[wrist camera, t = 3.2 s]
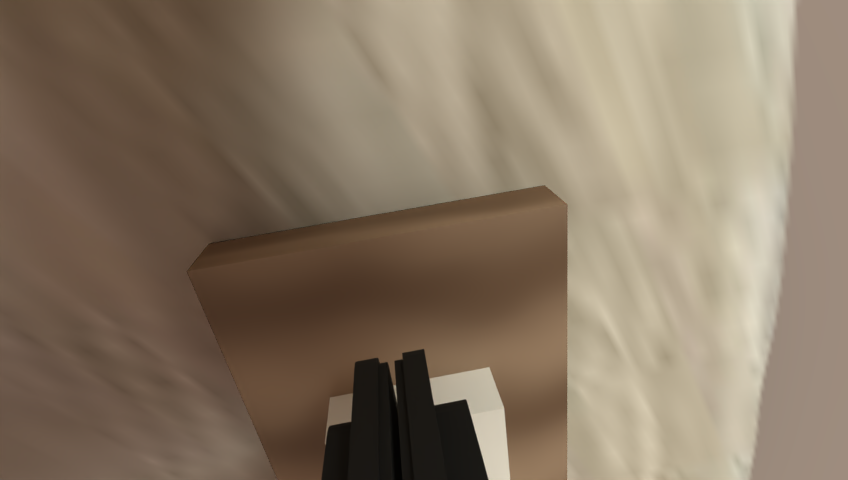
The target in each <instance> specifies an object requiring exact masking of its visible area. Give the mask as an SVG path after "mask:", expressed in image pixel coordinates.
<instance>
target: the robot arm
mask: <svg viewBox="0 0 848 480" xmlns="http://www.w3.org/2000/svg"><path fill="white" fill-rule="evenodd" d="M402 358H403V359H401V360H395V361H394V364H395V379H396V393H397V400H396V396H395V391H394V387H393V382H392V378H391V373H390V369H389V365H388V362H385V363H380V362H379V359H378V358H373V359H367V360H362V361H357V362H355V367H354V383H353V399H352V415H351V422H346V423H341V424H336V425H331V426H329V428H328V432H327V438H326V446H325V454H324V462H323V470H322V478H321V480H489V479H488V476H487V472H486V468H485V465H484V461H483V457H482V454H481V450H480V446H479V443H478V439H477V436H476V432H475V428H474V425H473V421H472V417H471V414H470V410H469V406H468V403H467V400H466V399H464V400H459V401H454V402H449V403H444V404H439V405H434V401H433V396H432V390H431V384H430V379H429V373H428V368H427V362H426V356H425V351H424V349H420V350H415V351H410V352H404V353H402Z"/></svg>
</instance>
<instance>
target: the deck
mask: <svg viewBox="0 0 848 480" xmlns="http://www.w3.org/2000/svg"><path fill="white" fill-rule="evenodd" d="M187 273H188V275H189V278H190V280H191V282H192V285H193V287H194V289H195V291H196V294H197V296H198V298H199V301H200V303H201V305H202V308H203V310H204V312H205V314H206V317H207V319H208V321H209V324H210V326H211V328H212V330H213V333H214V335H215V337H216V340H217V342H218V344H219V347H220V349H221V351H222V353H223V356H224V358H225V360H226V363H227V365H228V367H229V369H230V372H231V374H232V376H233V379H234V381H235V383H236V386H237V388H238V390H239V392H240V395H241V397H242V399H243V402H244V404H245V406H246V408H247V411H248V413H249V415H250V418H251V420H252V422H253V425H254V427H255V429H256V431H257V434H258V436H259V438H260V441H261V443H262V445H263V447H264V450H265V452H266V454H267V457H268V459H269V461H270V464H271V466H272V468H273V470H274V473H275V475H276V477H277V480H321V478H322V470H323V462H324V454H325V446H326V445H325V436H326V428H327V419H328V410H329V402H330V397H335V396H340V395H346V394H351V393H353V383H354V367H355V362H357V361H362V360H367V359H373V358H378V359H379V362H380V363H385V362H388V365H389V369H390V373H391V378H392V382H393V385H396V379H395V364H394V361H395V360H401V359H403V358H402V353H404V352H410V351H415V350H420V349H424V351H425V356H426V362H427V368H428V373H429V379H430V378H435V377H440V376H445V375H451V374H456V373H461V372H466V371H472V370H477V369H482V368H487V367H489V368H490V370H491V373H492V376H493V379H494V381H495V384H496V387H497V390H498V392H499V395H500V398H501V401H502V403H503V406H504V412H505V424H506V436H507V447H508V459H509V471H510V480H567V204H566V203H565V202H564V201H563V200H561V199H560V198H559V197H558V196H557V195H555V194H554V193H553V192H552V191H551V190H549V189H548V188H547V187H546V186H545V185H544V186H539V187H533V188H527V189H521V190H516V191H510V192H504V193H498V194H493V195H487V196H481V197H475V198H470V199H464V200H458V201H452V202H447V203H441V204H435V205H429V206H424V207H418V208H412V209H406V210H401V211H395V212H389V213H383V214H378V215H372V216H366V217H360V218H355V219H349V220H343V221H338V222H332V223H326V224H320V225H315V226H309V227H303V228H297V229H292V230H286V231H280V232H274V233H269V234H263V235H257V236H251V237H246V238H240V239H234V240H228V241H223V242H217V243H211V244H208V246H207V247H206V248H205V249H204V251H203V252H202V253H201V254H200V256H199V257H198V258H197V259H196V261H195V262H194V263H193V264H192V266H191V267H190V268H189V269H188V271H187Z"/></svg>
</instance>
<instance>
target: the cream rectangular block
mask: <svg viewBox="0 0 848 480" xmlns="http://www.w3.org/2000/svg"><path fill="white" fill-rule="evenodd" d="M430 384H431V390H432V396H433V401H434V405H439V404H444V403H449V402H454V401H459V400H464V399H466V400H467V403H468V406H469V410H470V414H471V417H472V421H473V425H474V428H475V432H476V436H477V439H478V443H479V446H480V450H481V454H482V457H483V461H484V465H485V468H486V472H487V476H488V479H489V480H510V471H509V459H508V447H507V436H506V424H505V412H504V406H503V403H502V401H501V398H500V395H499V392H498V390H497V387H496V384H495V381H494V379H493V376H492V373H491V370H490V368H489V367H487V368H482V369H477V370H472V371H466V372H461V373H456V374H451V375H445V376H440V377H435V378H430ZM393 387H394V391H395V396H396V400H397V393H396V385H393ZM352 399H353V393H351V394H346V395H340V396H335V397H330V402H329V410H328V419H327V428H326V436H325V445H326V438H327V432H328V428H329V426H331V425H336V424H341V423H346V422H351V415H352Z"/></svg>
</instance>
